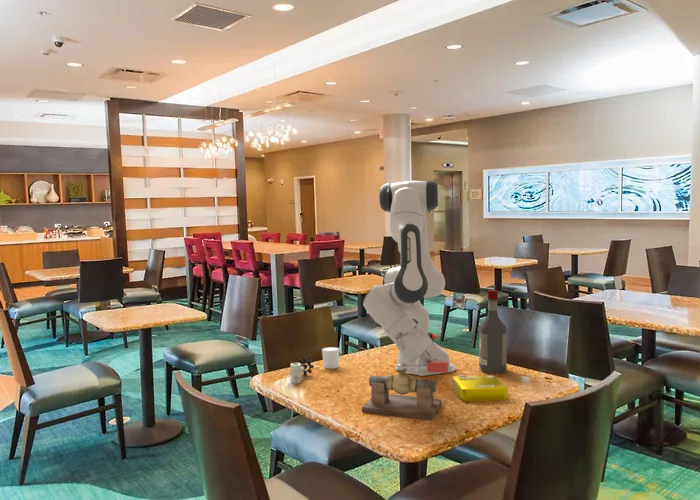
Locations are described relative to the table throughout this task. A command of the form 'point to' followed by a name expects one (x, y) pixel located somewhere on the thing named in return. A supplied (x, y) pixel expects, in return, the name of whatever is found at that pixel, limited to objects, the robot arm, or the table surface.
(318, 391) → the table surface
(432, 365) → the valve lever
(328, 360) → the white cylinder
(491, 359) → the liquor
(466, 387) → the element tile
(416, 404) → the valve stand
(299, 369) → the valve
